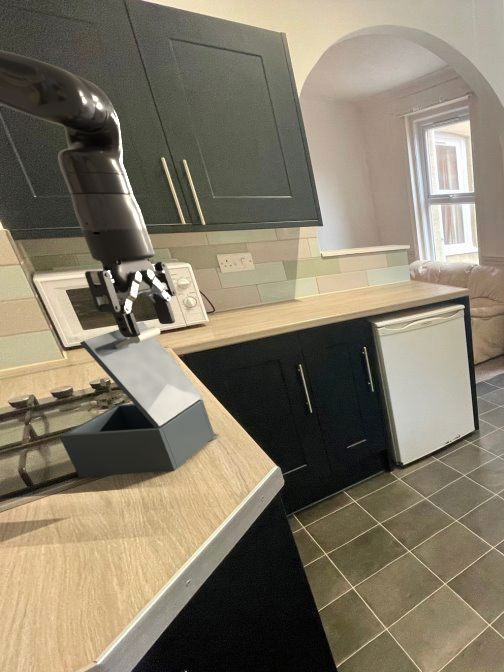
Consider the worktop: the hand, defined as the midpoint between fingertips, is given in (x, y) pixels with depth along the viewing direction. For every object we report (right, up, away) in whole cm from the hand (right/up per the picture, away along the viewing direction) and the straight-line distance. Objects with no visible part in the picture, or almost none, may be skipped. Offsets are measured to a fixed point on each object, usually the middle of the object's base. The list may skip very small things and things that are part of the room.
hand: (151, 329), depth 70 cm
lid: (-3, -7, +3) cm, 8 cm away
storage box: (-7, -24, +9) cm, 27 cm away
